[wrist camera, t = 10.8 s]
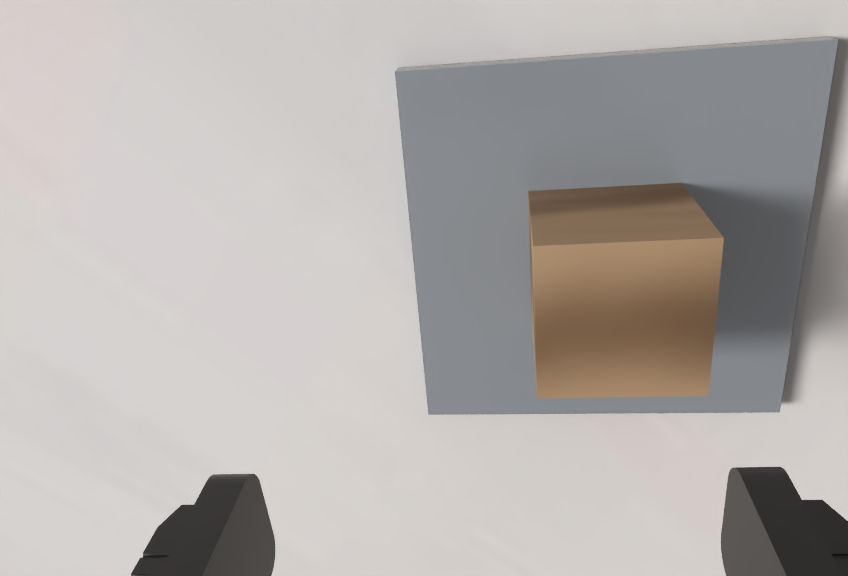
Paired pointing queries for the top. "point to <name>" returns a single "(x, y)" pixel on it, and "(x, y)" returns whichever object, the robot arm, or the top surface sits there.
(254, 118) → the top surface
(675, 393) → the walnut block
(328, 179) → the top surface
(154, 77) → the top surface
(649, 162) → the slate plate
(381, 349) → the top surface
